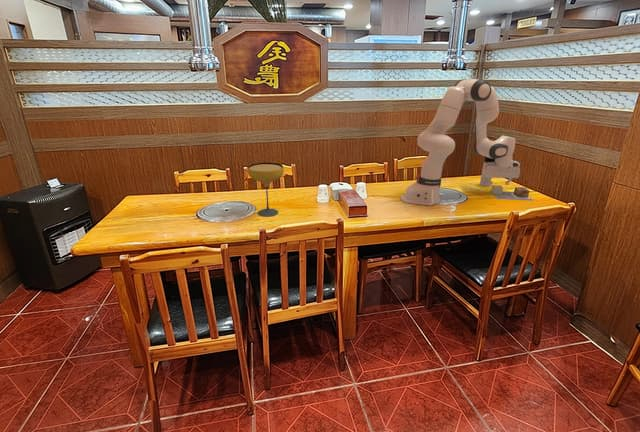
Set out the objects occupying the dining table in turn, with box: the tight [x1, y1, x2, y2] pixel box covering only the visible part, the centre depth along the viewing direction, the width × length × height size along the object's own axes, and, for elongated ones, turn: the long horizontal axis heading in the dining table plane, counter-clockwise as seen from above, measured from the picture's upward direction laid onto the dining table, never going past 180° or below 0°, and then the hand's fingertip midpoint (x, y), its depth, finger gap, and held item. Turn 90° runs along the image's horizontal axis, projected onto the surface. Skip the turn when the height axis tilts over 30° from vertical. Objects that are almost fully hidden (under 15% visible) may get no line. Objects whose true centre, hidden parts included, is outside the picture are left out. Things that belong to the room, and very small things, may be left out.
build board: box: [489, 190, 534, 202], centre depth 209 cm, size 20×15×1 cm
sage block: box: [490, 184, 504, 195], centre depth 213 cm, size 5×5×4 cm
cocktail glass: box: [247, 162, 285, 218], centre depth 178 cm, size 18×18×25 cm
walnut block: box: [513, 186, 530, 198], centre depth 207 cm, size 6×6×4 cm
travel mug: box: [479, 156, 496, 188], centre depth 224 cm, size 6×7×20 cm
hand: (498, 184), depth 212 cm, fingers open, 8 cm apart
